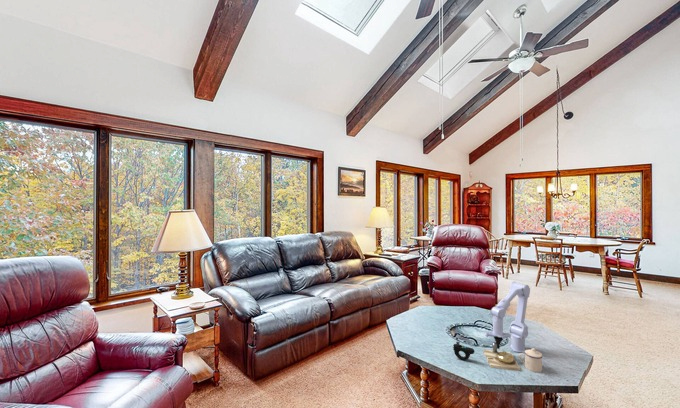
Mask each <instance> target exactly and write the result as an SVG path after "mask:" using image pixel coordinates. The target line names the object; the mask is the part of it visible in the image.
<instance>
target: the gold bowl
mask: <svg viewBox="0 0 680 408" xmlns="http://www.w3.org/2000/svg"><path fill="white" fill-rule="evenodd" d="M492 350H493V353H495V354H497V359H498V360H499V361H500V362H503V363H507V364H511V363H513V362H514V359H515V358H514V357H515V355H513V354H512V353H511V354H512V355H511V354H509V353H506V352H507V351H505V350H501V351H502V352H498V351H499V350H498V349H497V343H496V341H493V342H492Z"/></svg>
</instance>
